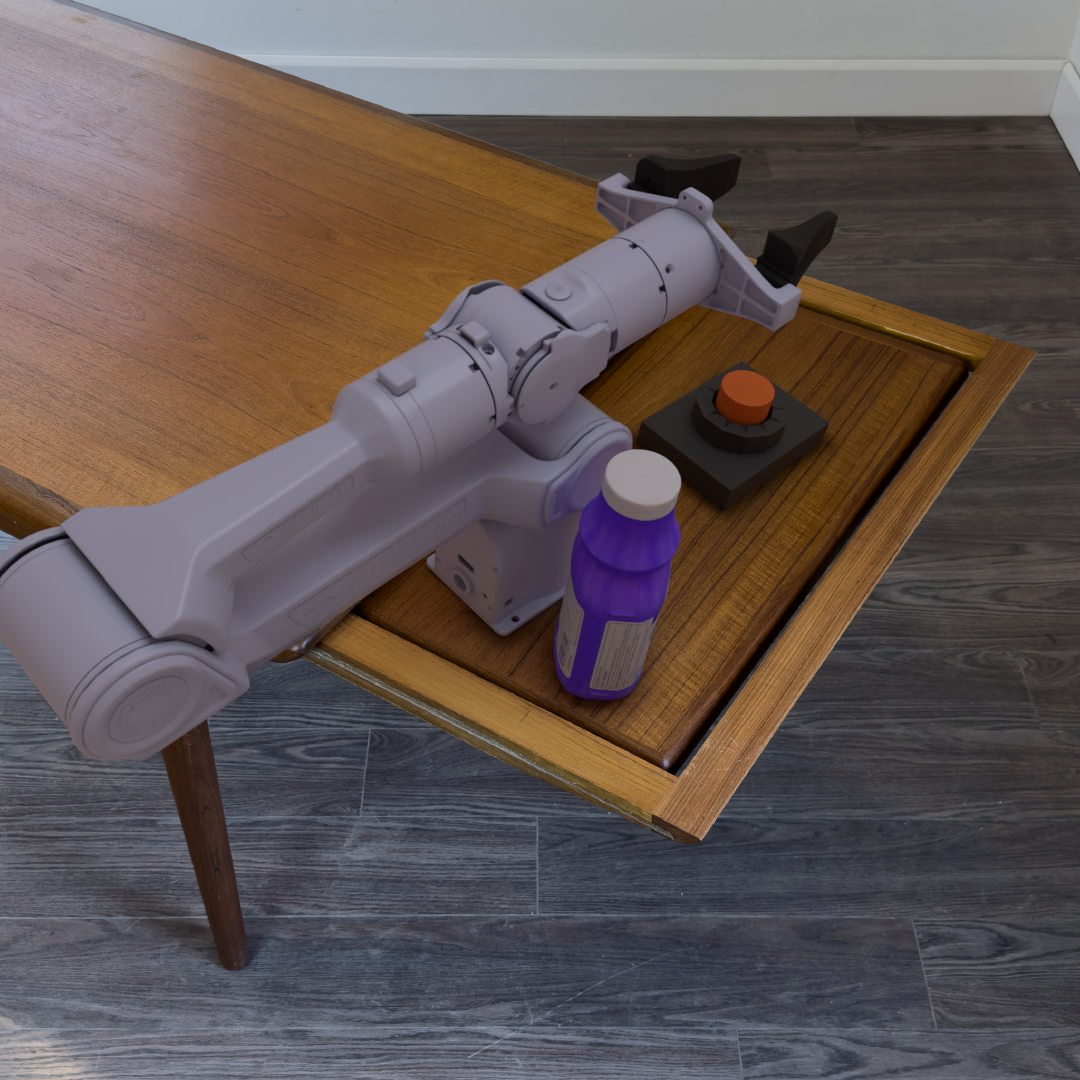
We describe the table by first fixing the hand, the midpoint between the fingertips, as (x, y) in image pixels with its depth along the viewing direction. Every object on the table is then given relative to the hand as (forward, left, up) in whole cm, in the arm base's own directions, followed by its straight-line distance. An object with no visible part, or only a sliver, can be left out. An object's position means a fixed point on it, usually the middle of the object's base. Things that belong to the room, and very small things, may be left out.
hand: (781, 197), depth 69 cm
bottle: (-21, -9, -22) cm, 32 cm away
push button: (+2, -1, -18) cm, 18 cm away
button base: (+2, -1, -22) cm, 22 cm away
